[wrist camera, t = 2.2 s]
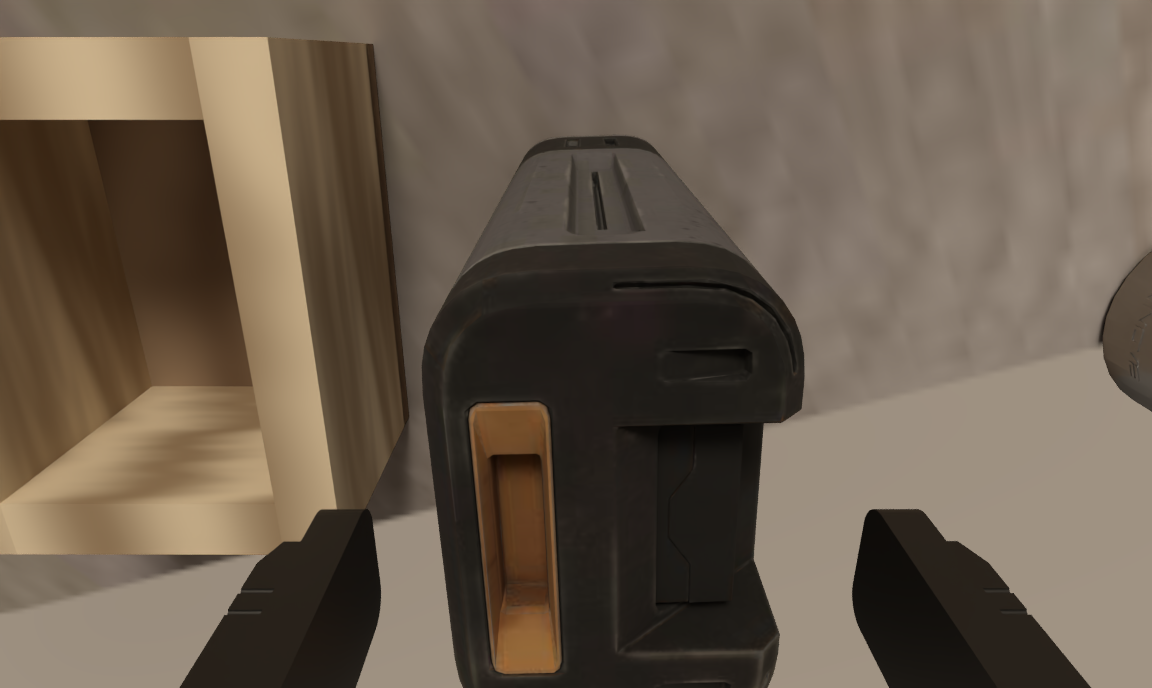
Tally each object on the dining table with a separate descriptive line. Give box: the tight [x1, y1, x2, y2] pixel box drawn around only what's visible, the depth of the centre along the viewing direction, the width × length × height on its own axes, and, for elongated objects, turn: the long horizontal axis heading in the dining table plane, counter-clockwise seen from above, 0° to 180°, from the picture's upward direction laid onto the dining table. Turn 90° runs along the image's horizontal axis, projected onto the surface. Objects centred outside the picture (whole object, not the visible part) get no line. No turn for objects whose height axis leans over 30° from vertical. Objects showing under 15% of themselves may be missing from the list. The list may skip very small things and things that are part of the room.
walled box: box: [0, 37, 409, 555], centre depth 26 cm, size 13×16×10 cm
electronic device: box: [422, 135, 804, 688], centre depth 21 cm, size 9×6×20 cm, turn 2°
